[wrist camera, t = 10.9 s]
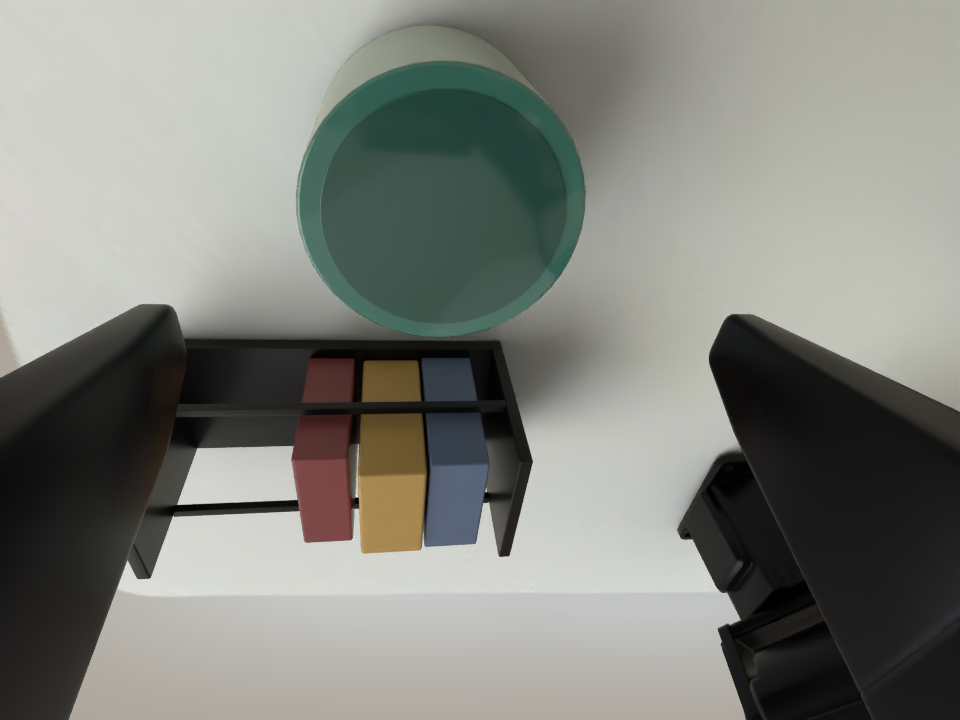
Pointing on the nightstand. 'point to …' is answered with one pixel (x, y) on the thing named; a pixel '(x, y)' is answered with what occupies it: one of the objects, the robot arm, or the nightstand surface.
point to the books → (391, 457)
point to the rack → (278, 403)
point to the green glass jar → (438, 185)
